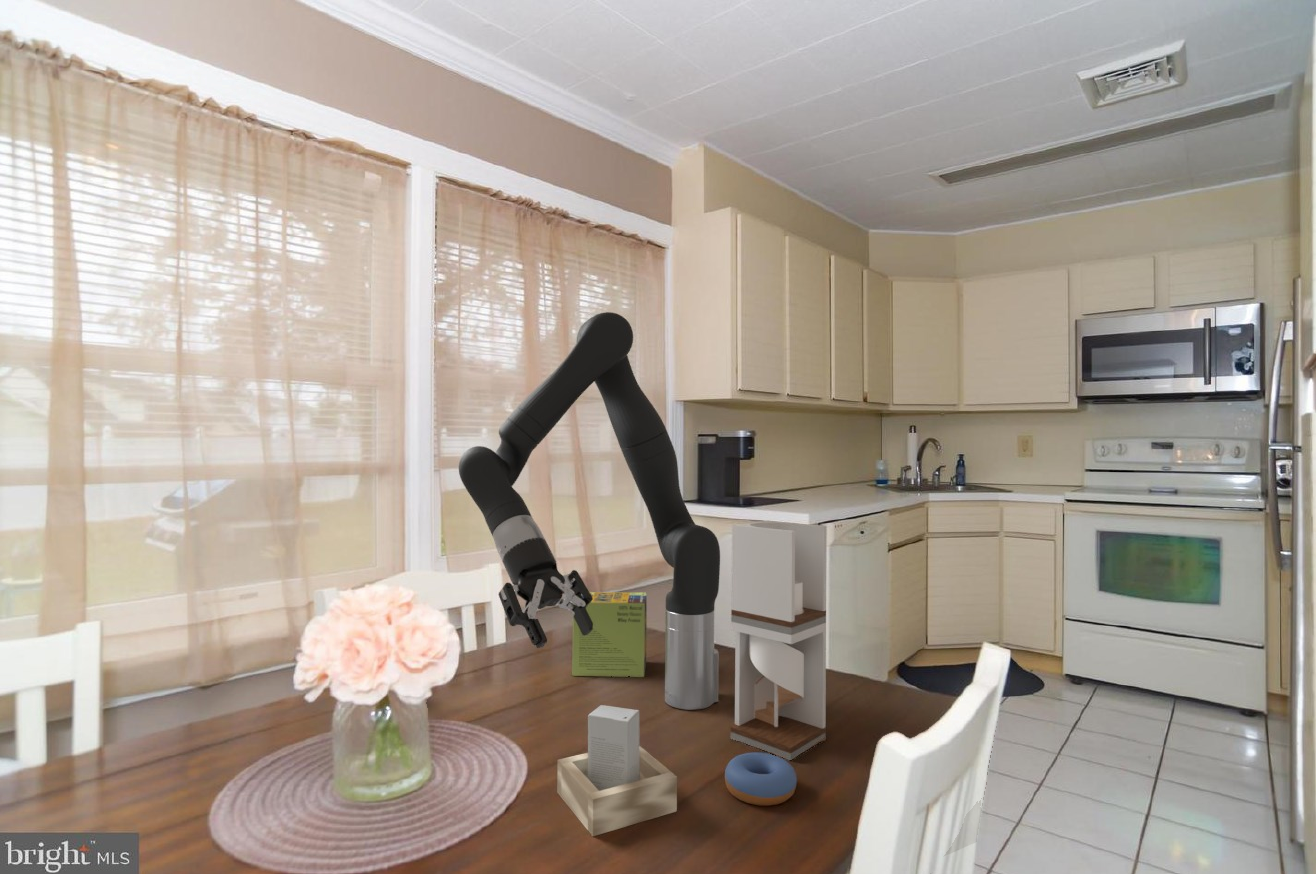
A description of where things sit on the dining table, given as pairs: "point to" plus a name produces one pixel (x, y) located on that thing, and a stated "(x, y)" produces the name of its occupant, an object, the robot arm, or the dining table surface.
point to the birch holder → (617, 794)
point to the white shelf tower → (779, 635)
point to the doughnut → (760, 778)
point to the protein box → (612, 636)
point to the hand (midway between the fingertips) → (566, 638)
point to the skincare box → (613, 747)
